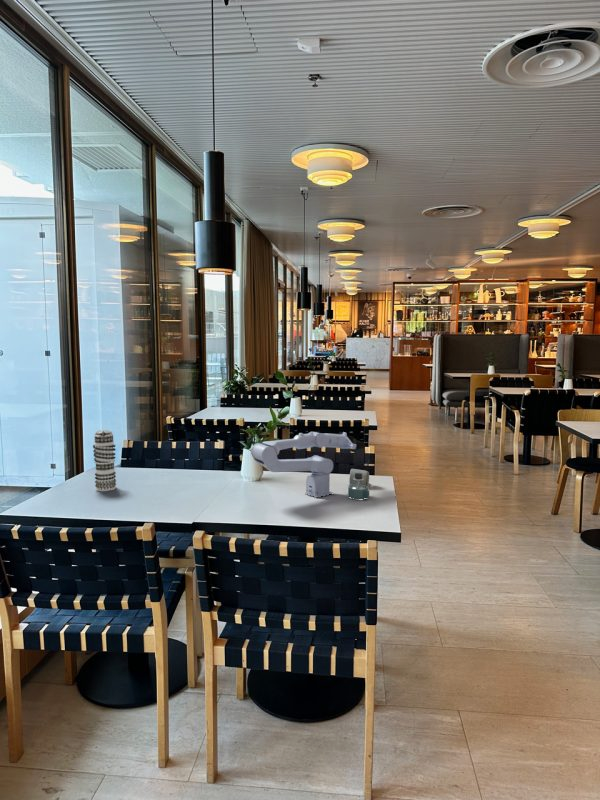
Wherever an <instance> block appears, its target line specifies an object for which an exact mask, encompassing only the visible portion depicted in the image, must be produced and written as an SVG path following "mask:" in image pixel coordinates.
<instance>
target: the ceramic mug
mask: <svg viewBox="0 0 600 800" xmlns="http://www.w3.org/2000/svg"><path fill="white" fill-rule="evenodd" d="M355 473H362V478H364V480H363V481H359V485H365V486H368V487H369V484H370V483H369V482H370V472H369V471H367V470H364V469H363V470H362V469H356V468H351V469H350V472H349V483H348V486H349V485H350V484H352V485H357V481H355V480H353V478H354V477H355Z"/></svg>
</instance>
